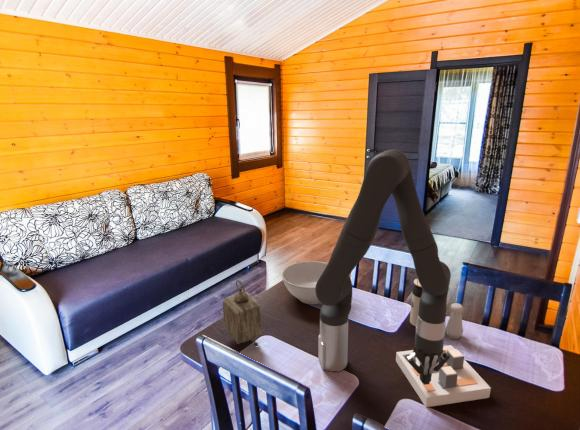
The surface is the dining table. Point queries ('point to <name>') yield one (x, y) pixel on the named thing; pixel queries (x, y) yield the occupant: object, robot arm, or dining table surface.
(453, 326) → the salt shaker
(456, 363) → the knob mid
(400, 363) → the tray
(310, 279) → the decorative bowl
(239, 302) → the brown wooden lantern
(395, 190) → the robot arm
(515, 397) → the dining table surface
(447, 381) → the grey block
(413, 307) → the travel mug
